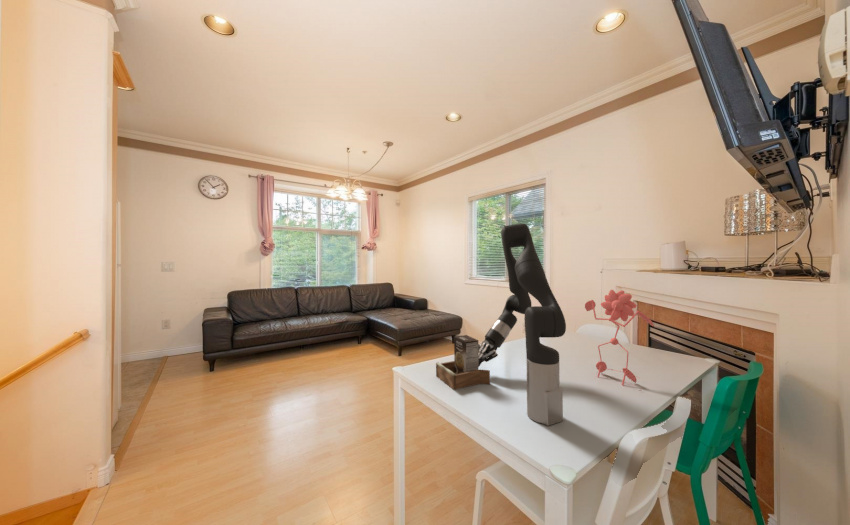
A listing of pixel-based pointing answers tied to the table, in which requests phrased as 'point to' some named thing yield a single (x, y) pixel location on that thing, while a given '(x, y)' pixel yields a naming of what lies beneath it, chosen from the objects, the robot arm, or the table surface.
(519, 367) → the table surface
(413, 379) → the table surface
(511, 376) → the table surface
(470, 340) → the coffee box
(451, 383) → the bay
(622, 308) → the pink flower stick figure
